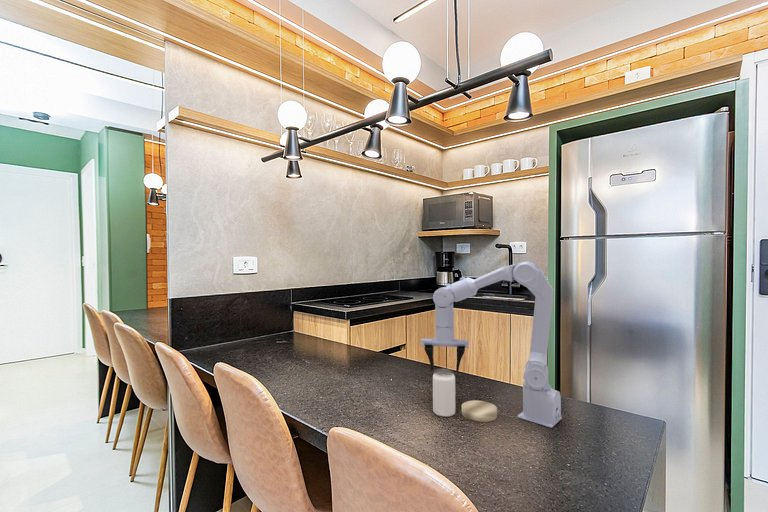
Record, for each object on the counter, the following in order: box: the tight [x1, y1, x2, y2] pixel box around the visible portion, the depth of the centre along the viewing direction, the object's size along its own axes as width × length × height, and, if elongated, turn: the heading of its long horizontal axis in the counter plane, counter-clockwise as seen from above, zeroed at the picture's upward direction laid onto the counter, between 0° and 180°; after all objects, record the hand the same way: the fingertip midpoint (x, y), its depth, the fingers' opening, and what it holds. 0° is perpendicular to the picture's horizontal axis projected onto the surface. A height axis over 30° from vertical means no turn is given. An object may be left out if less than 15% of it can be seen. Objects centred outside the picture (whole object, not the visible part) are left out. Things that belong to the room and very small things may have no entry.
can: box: [432, 368, 456, 418], centre depth 107 cm, size 6×6×12 cm
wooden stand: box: [461, 399, 498, 423], centre depth 105 cm, size 10×10×2 cm
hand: (444, 369), depth 114 cm, fingers open, 7 cm apart
